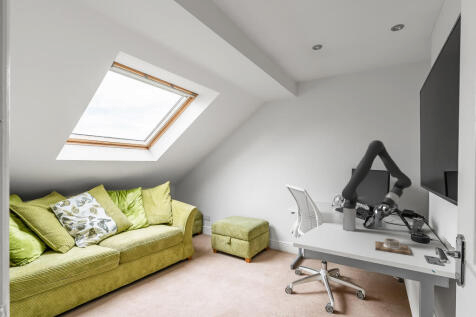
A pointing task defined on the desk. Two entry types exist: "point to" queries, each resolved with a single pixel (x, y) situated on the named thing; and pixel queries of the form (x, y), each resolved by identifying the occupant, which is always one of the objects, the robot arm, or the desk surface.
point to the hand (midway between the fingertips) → (376, 218)
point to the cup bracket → (392, 246)
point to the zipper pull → (415, 227)
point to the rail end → (377, 213)
